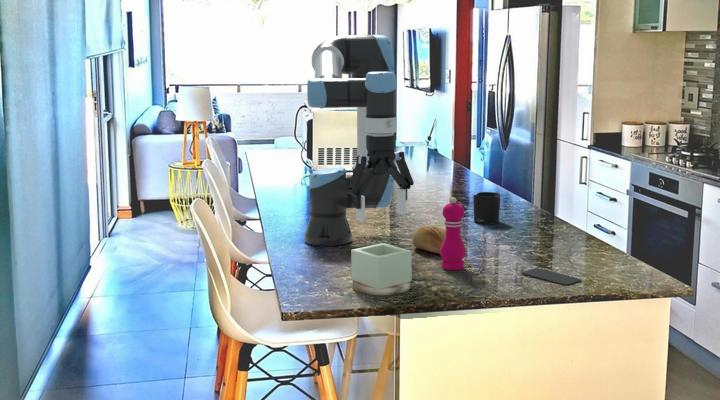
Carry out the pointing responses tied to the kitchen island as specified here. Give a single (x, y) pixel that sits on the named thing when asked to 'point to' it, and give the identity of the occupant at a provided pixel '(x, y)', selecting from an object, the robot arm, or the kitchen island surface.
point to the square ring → (381, 265)
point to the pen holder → (486, 207)
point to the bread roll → (429, 238)
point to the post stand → (384, 291)
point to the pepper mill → (453, 237)
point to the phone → (551, 276)
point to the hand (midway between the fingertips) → (381, 217)
